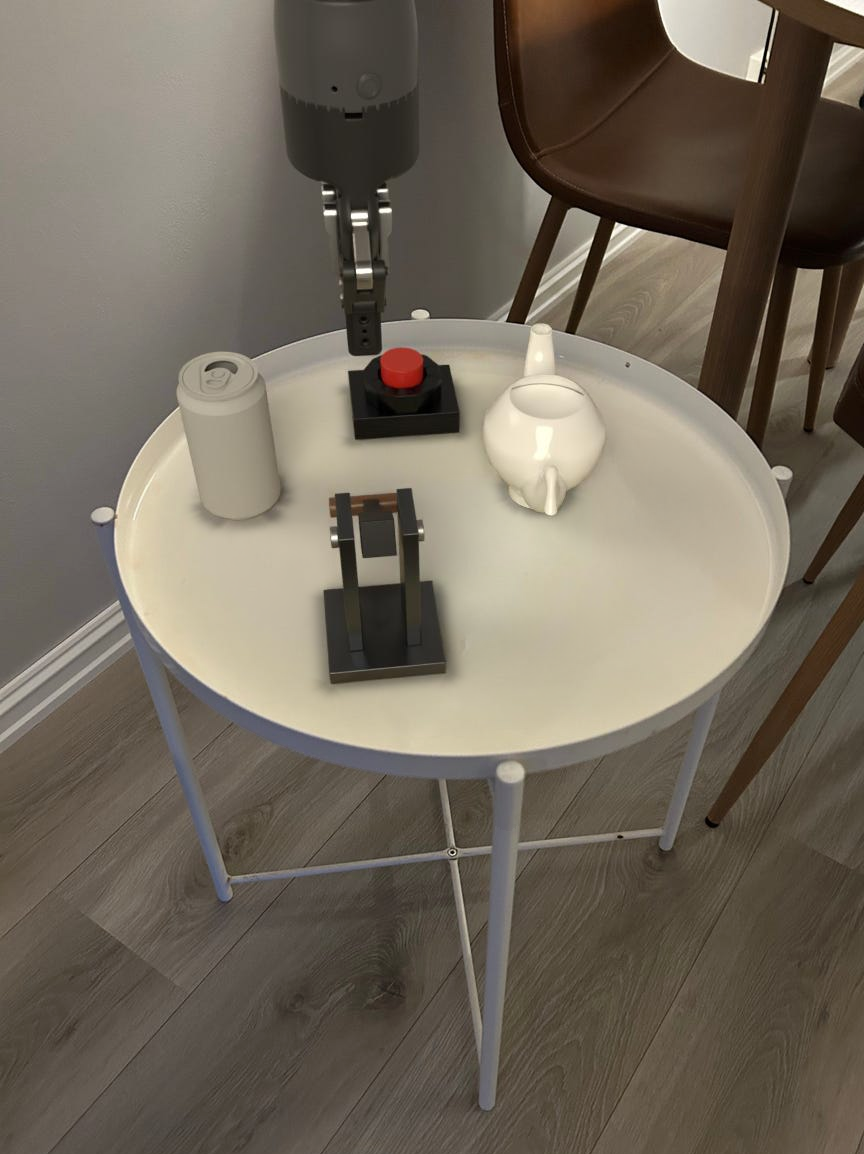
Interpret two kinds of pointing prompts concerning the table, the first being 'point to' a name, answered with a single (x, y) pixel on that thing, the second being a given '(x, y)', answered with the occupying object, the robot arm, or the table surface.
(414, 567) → the bracket
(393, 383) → the button
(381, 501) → the lever
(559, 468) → the teapot
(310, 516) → the table surface
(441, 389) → the control block
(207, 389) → the beverage can
